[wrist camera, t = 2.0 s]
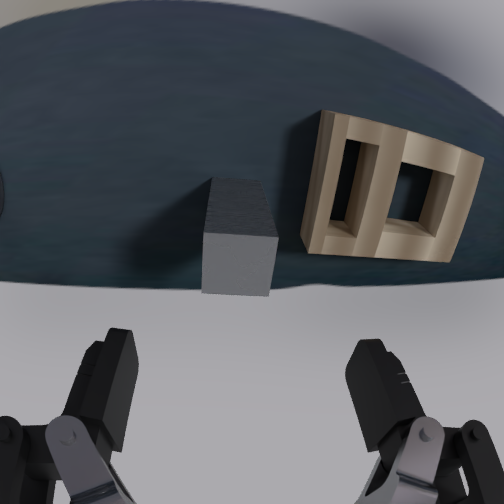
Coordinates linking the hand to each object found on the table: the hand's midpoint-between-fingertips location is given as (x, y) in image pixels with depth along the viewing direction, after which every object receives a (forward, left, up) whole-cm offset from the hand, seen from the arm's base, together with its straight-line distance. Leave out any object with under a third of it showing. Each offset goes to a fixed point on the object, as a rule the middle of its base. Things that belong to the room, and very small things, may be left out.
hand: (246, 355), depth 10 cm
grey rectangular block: (0, 0, -15) cm, 15 cm away
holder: (+9, +9, -15) cm, 19 cm away
